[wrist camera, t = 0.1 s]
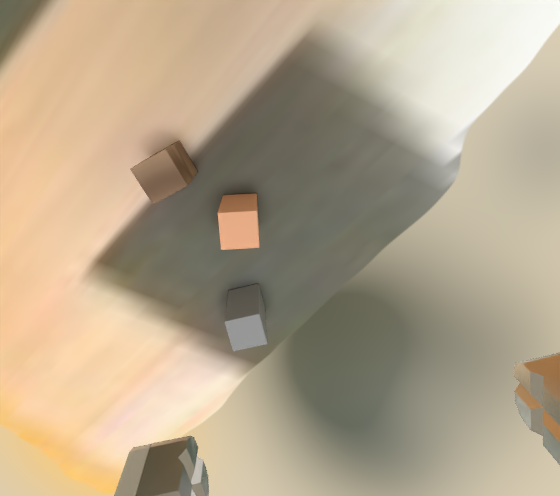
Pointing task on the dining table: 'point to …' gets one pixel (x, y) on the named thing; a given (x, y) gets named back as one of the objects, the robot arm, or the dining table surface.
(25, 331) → the dining table surface
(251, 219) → the terracotta bar
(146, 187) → the walnut bar
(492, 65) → the dining table surface
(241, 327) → the charcoal bar
